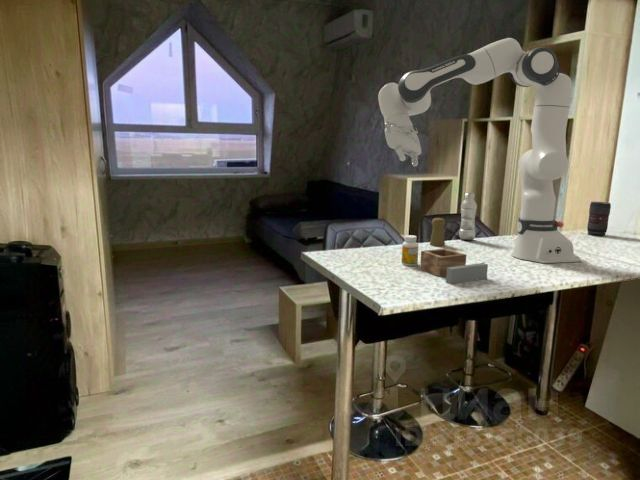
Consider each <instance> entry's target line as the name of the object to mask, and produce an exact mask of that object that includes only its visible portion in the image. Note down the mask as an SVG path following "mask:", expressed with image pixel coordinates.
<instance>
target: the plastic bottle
mask: <svg viewBox="0 0 640 480" xmlns="http://www.w3.org/2000/svg"><path fill="white" fill-rule="evenodd" d="M464 198H465V199H463V201H462V202H461V205H460V214H461V216H460V217H461V219H460V220H461V222H460V227H459V231H458V232H459V233H458V237H459V238H460V240H464V241H473V240H474V239H475V238H476V229H475V228H476V227H475V226H476V224H475V221H476V220H475V219H476V213H477V209H478V205H477V202H476V200H475V193H473V192H466V193H465V195H464Z"/></svg>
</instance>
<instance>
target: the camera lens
mask: <svg viewBox="0 0 640 480" xmlns="http://www.w3.org/2000/svg"><path fill="white" fill-rule="evenodd" d="M611 206H612V205H611V202H604V201H590V204H589V210H588V221H587V227H586V229H587V235H588V236H592V237H605V236H606V233H607V230H608V225H609V217H610V214H611V208H612V207H611Z"/></svg>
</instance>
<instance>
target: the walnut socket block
mask: <svg viewBox="0 0 640 480" xmlns="http://www.w3.org/2000/svg"><path fill="white" fill-rule="evenodd" d="M464 265H467V254H465V253H462V252H459V251H455V250H452V249H450V248H446V247H445V248H437V249H435V248H434V249H428V250H421V252H420V265H419V266H420V267H419V268H420V270H423V271H424V272H428V273H430V274H433V275H435V276H438V277H446V275H447V268H448V267H456V266H464Z"/></svg>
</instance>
